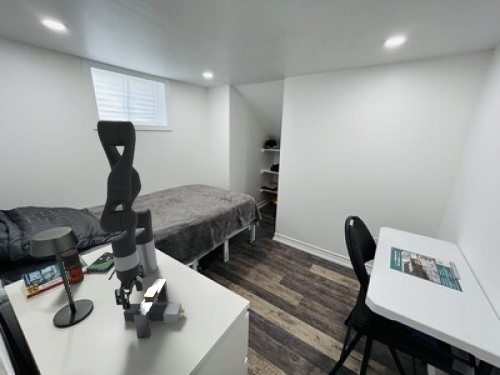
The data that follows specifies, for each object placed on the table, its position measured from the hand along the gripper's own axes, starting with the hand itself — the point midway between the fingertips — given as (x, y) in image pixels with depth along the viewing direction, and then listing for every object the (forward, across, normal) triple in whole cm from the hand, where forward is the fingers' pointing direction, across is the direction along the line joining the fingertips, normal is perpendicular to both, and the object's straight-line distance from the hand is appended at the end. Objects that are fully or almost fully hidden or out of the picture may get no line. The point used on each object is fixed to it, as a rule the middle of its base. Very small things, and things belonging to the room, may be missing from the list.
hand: (133, 299), depth 77 cm
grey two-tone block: (+8, 0, +7) cm, 10 cm away
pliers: (+9, -29, -23) cm, 38 cm away
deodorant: (+9, -18, -39) cm, 44 cm away
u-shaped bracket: (+8, +1, +7) cm, 10 cm away
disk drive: (+9, -32, -34) cm, 47 cm away
